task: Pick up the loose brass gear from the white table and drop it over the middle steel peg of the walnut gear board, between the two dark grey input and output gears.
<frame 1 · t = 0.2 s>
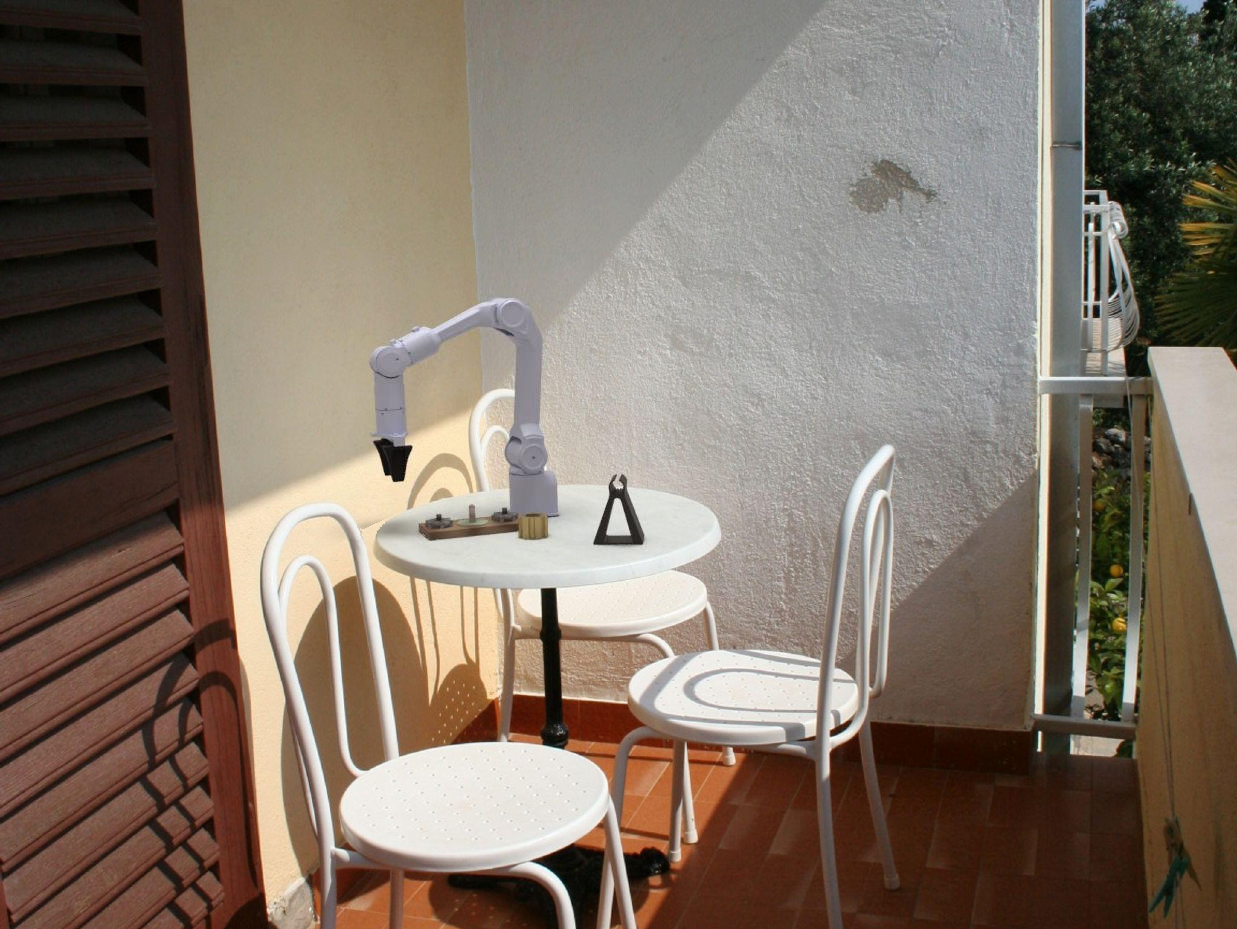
hand: (394, 478, 238), 10 cm above the table, tool pointing down, fingers open, 7 cm apart
brass gear: (533, 536, 231), on the table
gear board: (472, 530, 237), on the table
black clip stand: (619, 542, 226), on the table
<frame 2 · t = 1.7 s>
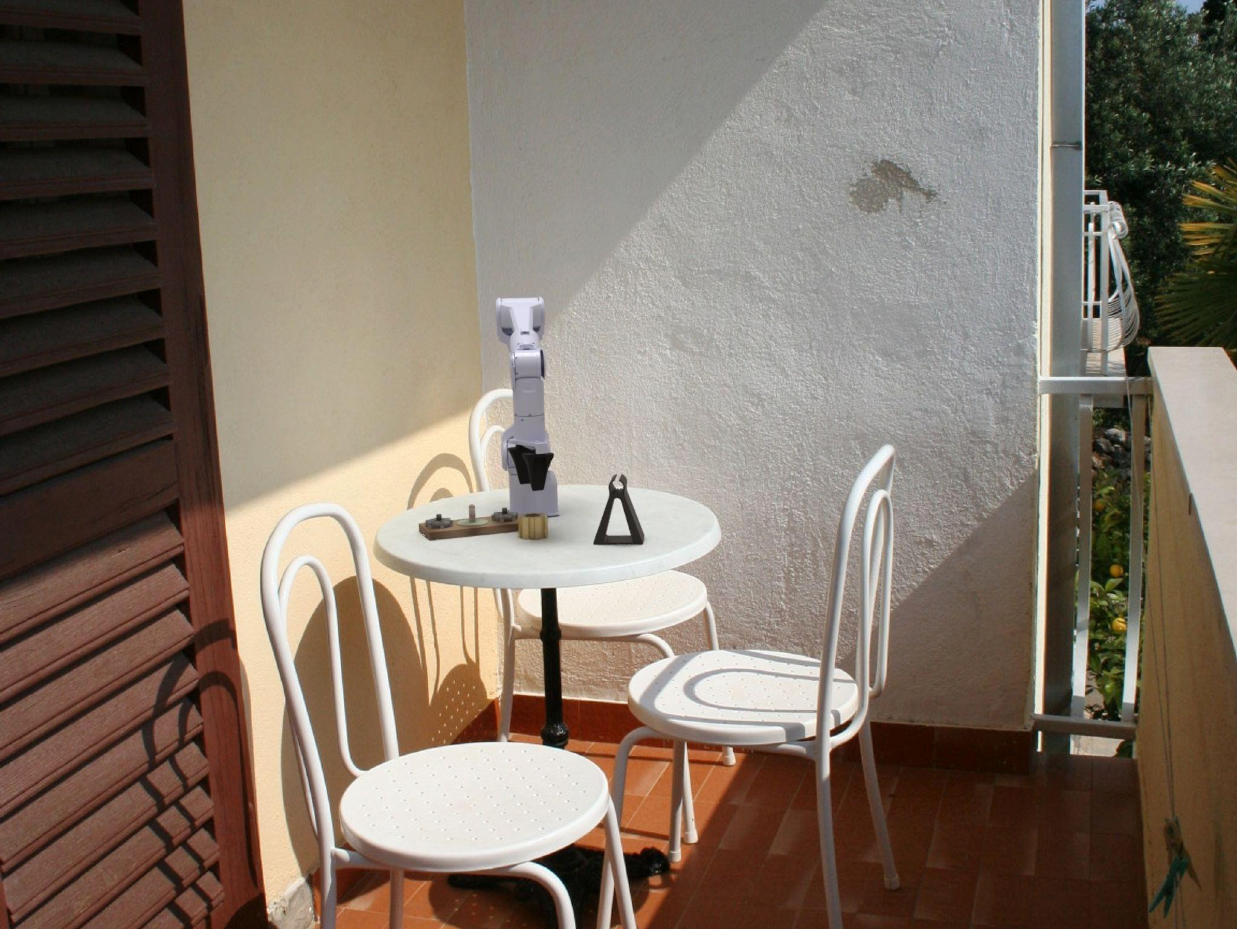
hand: (531, 487, 229), 9 cm above the table, tool pointing down, fingers open, 7 cm apart
nothing on the table moved.
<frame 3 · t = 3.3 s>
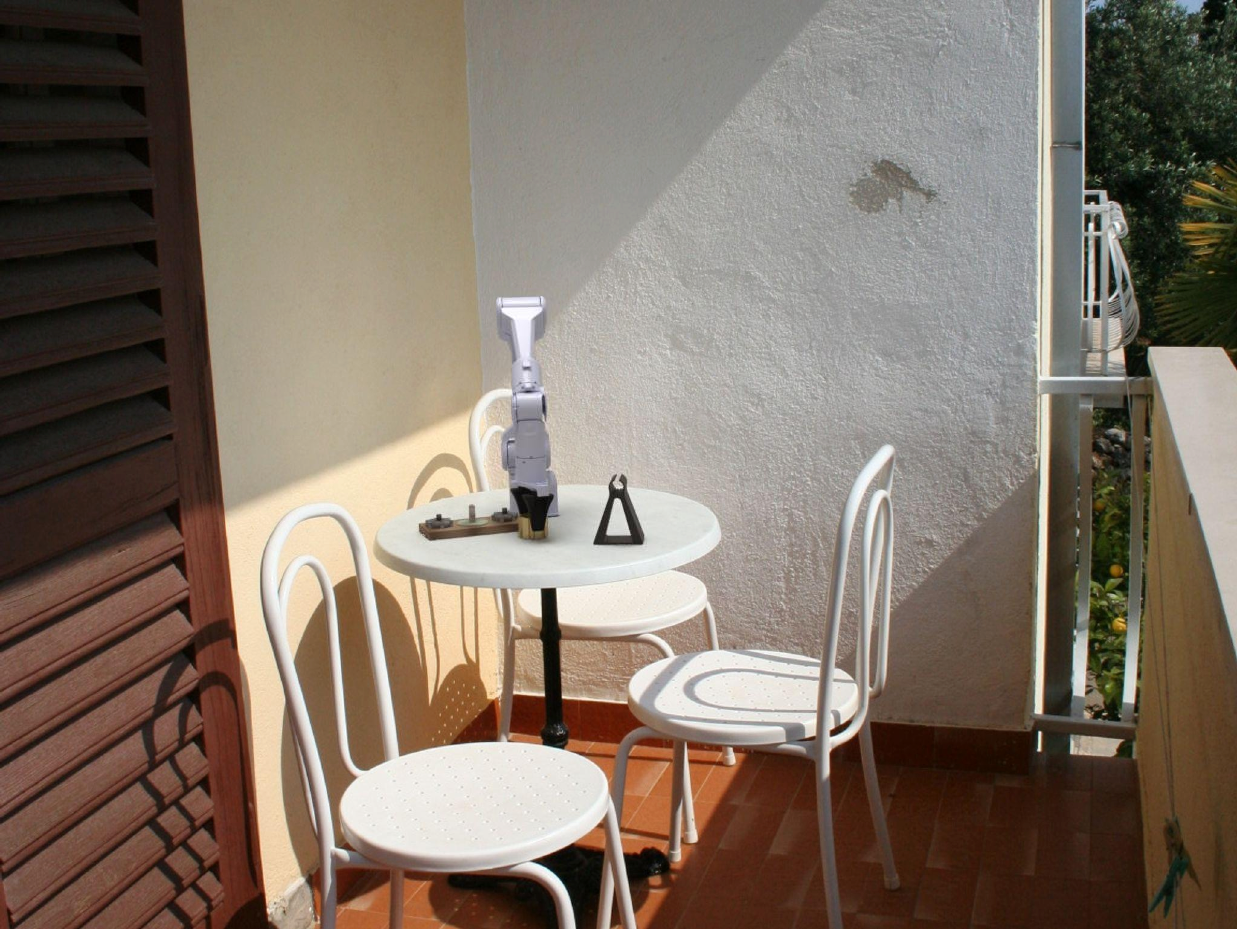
hand: (533, 527, 231), 2 cm above the table, tool pointing down, fingers closed on brass gear, 6 cm apart
brass gear: (533, 536, 231), on the table, touching gripper
everything else where it was.
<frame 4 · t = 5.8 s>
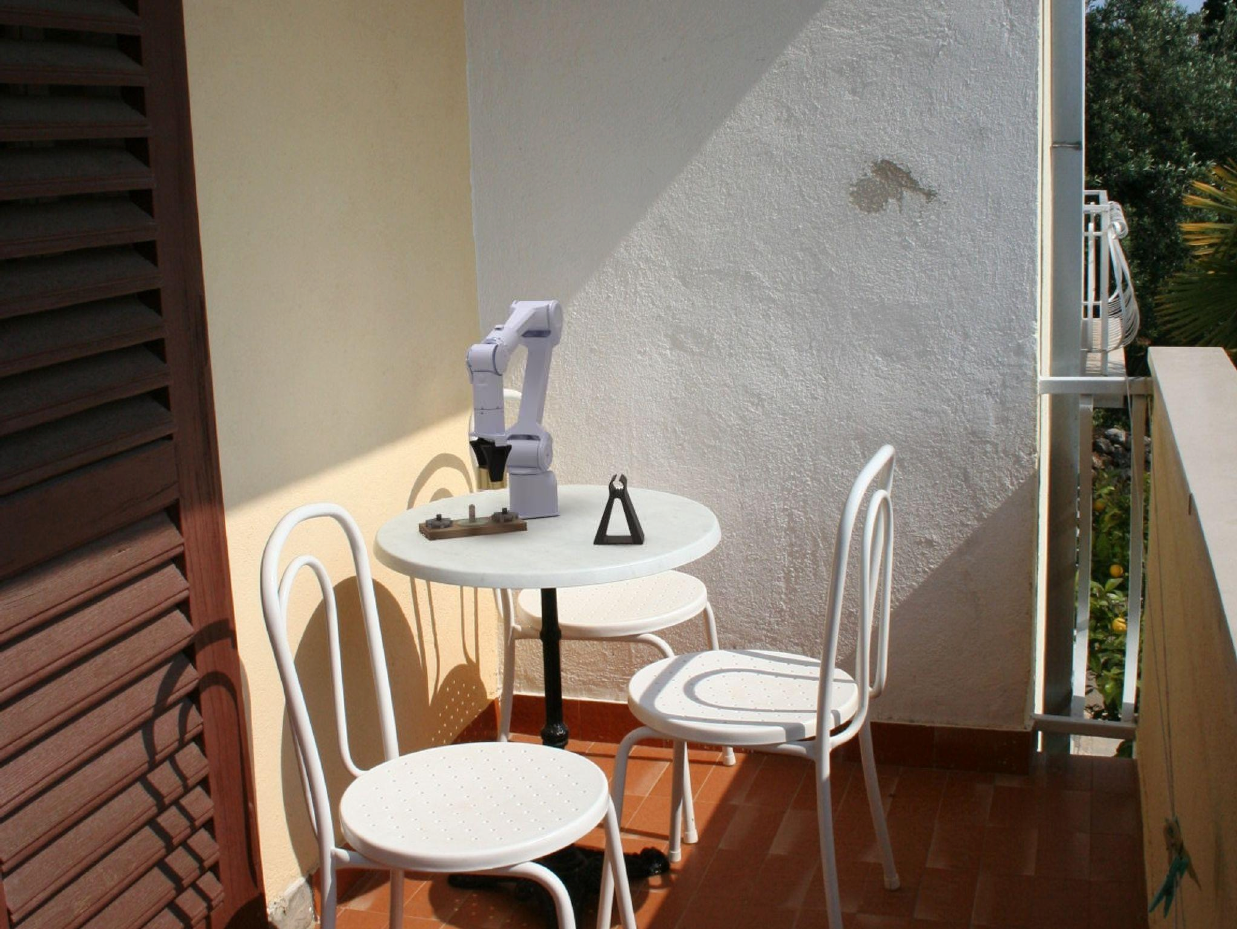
hand: (491, 479, 233), 10 cm above the table, tool pointing down, fingers closed on brass gear, 6 cm apart
brass gear: (492, 487, 233), point 9 cm above the table, touching gripper
everything else where it was.
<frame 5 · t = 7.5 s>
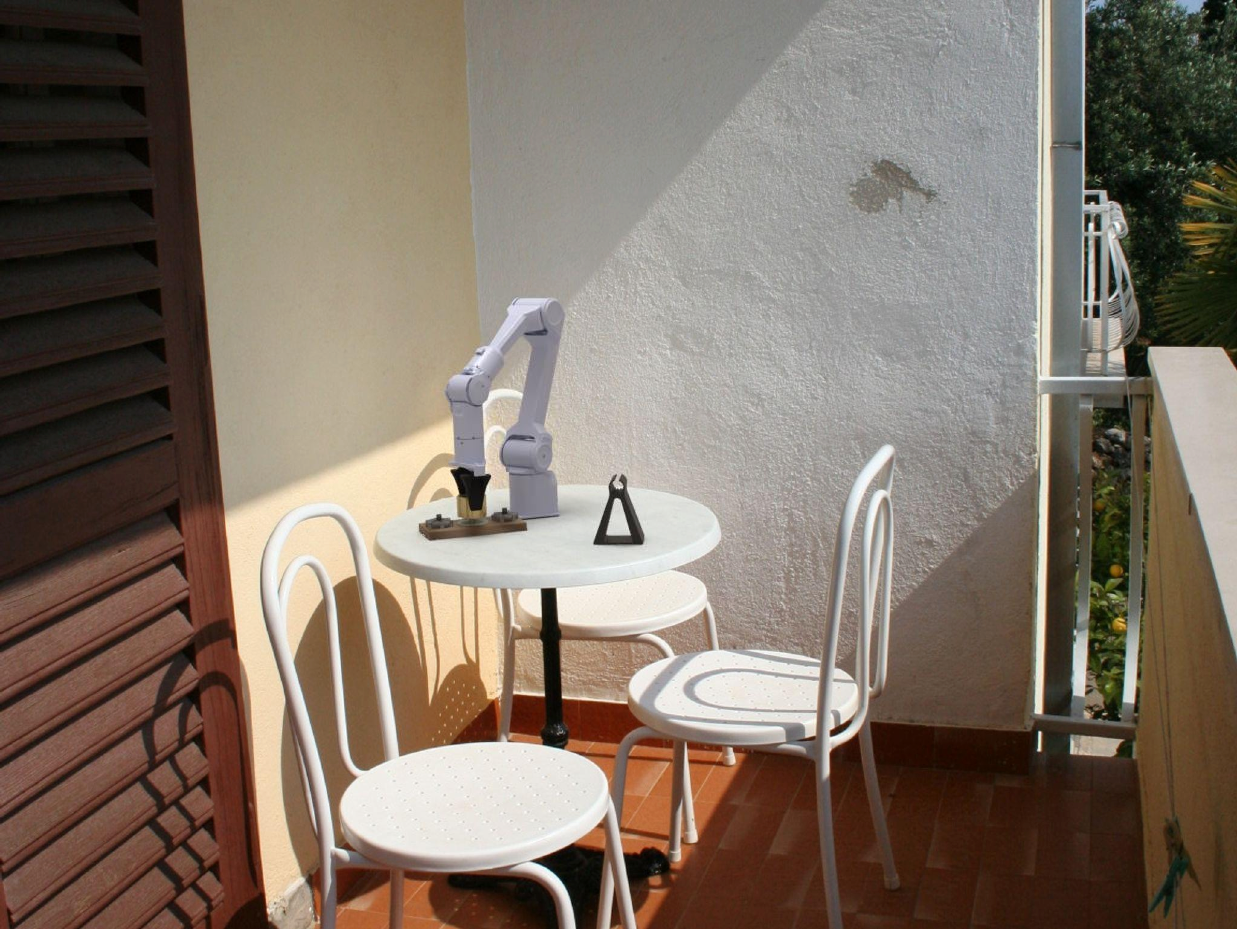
hand: (471, 507, 236), 5 cm above the table, tool pointing down, fingers closed on brass gear, 6 cm apart
brass gear: (472, 515, 236), point 3 cm above the table, touching gripper
everything else where it was.
when the fingers open (4 cm above the table, at t = 8.6 s): brass gear stays where it is, resting on gear board.
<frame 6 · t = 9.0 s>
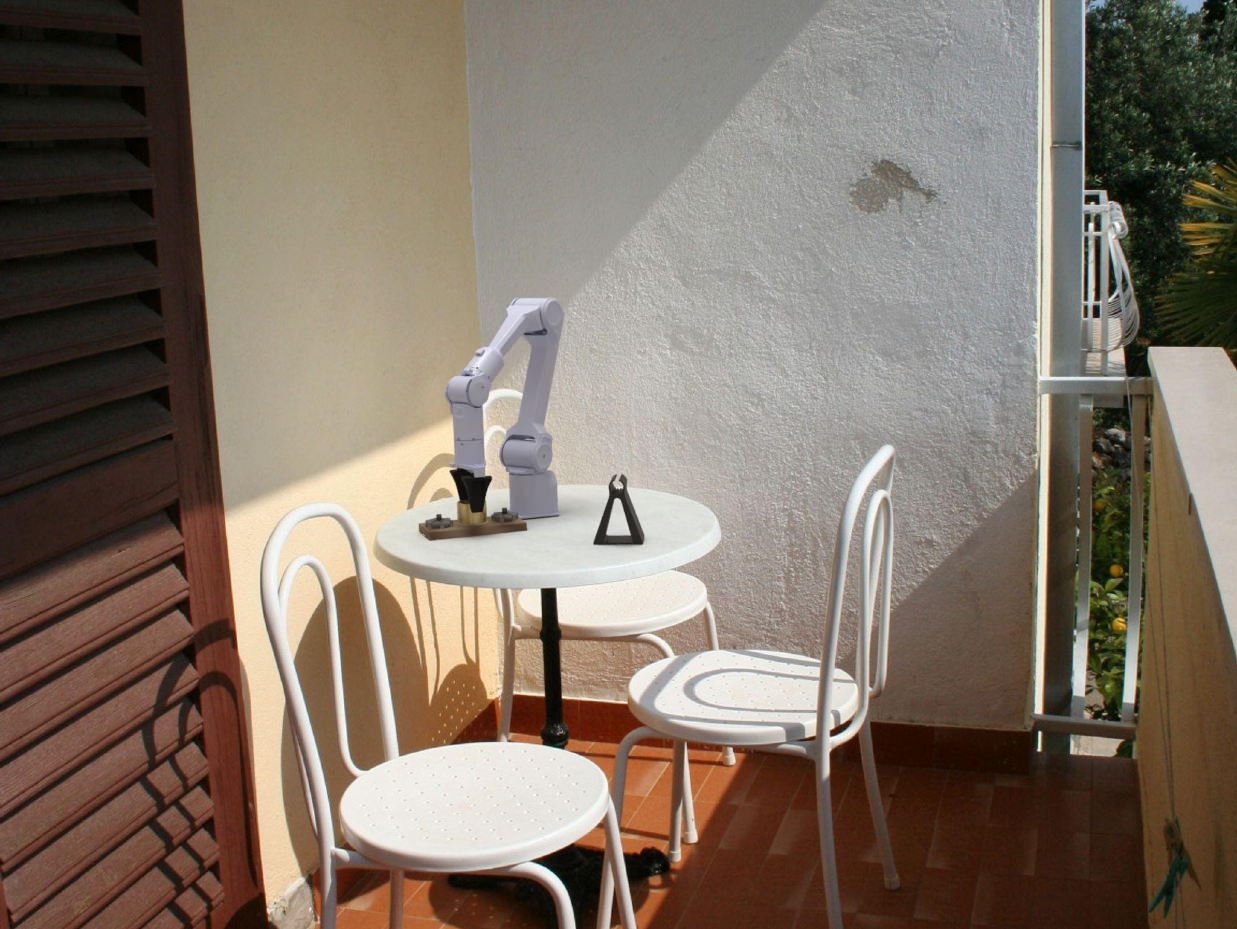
hand: (471, 508, 236), 4 cm above the table, tool pointing down, fingers open, 7 cm apart
brass gear: (472, 521, 237), point 2 cm above the table, touching gear board
everything else where it was.
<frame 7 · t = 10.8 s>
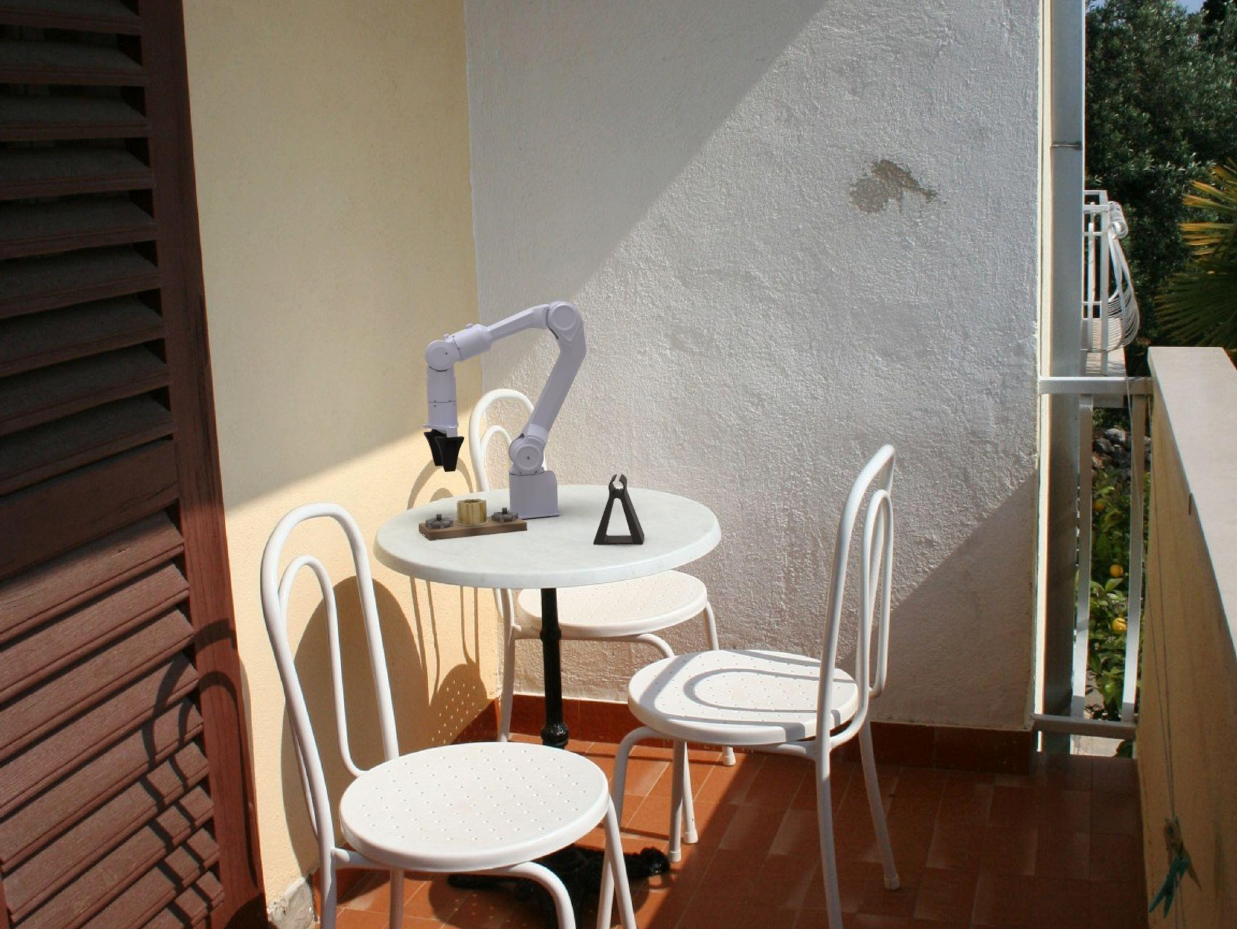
hand: (445, 468, 246), 10 cm above the table, tool pointing down, fingers open, 7 cm apart
nothing on the table moved.
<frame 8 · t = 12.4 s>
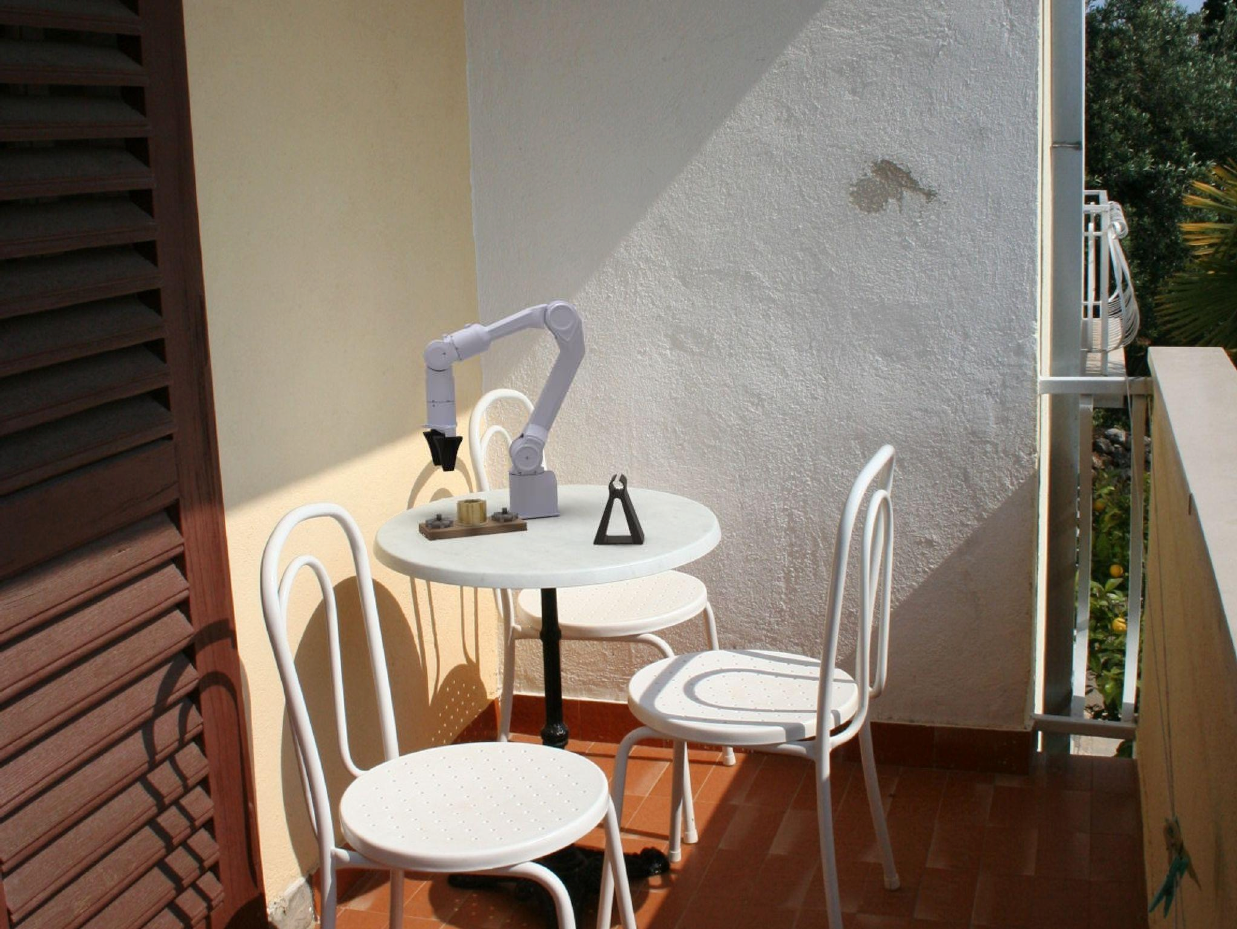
hand: (443, 468, 246), 10 cm above the table, tool pointing down, fingers open, 7 cm apart
nothing on the table moved.
at the end: brass gear 0.0 cm off-centre on the gear board, point 1.7 cm above the gear board's base; brass gear tilted 0°; the gripper is holding nothing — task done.
